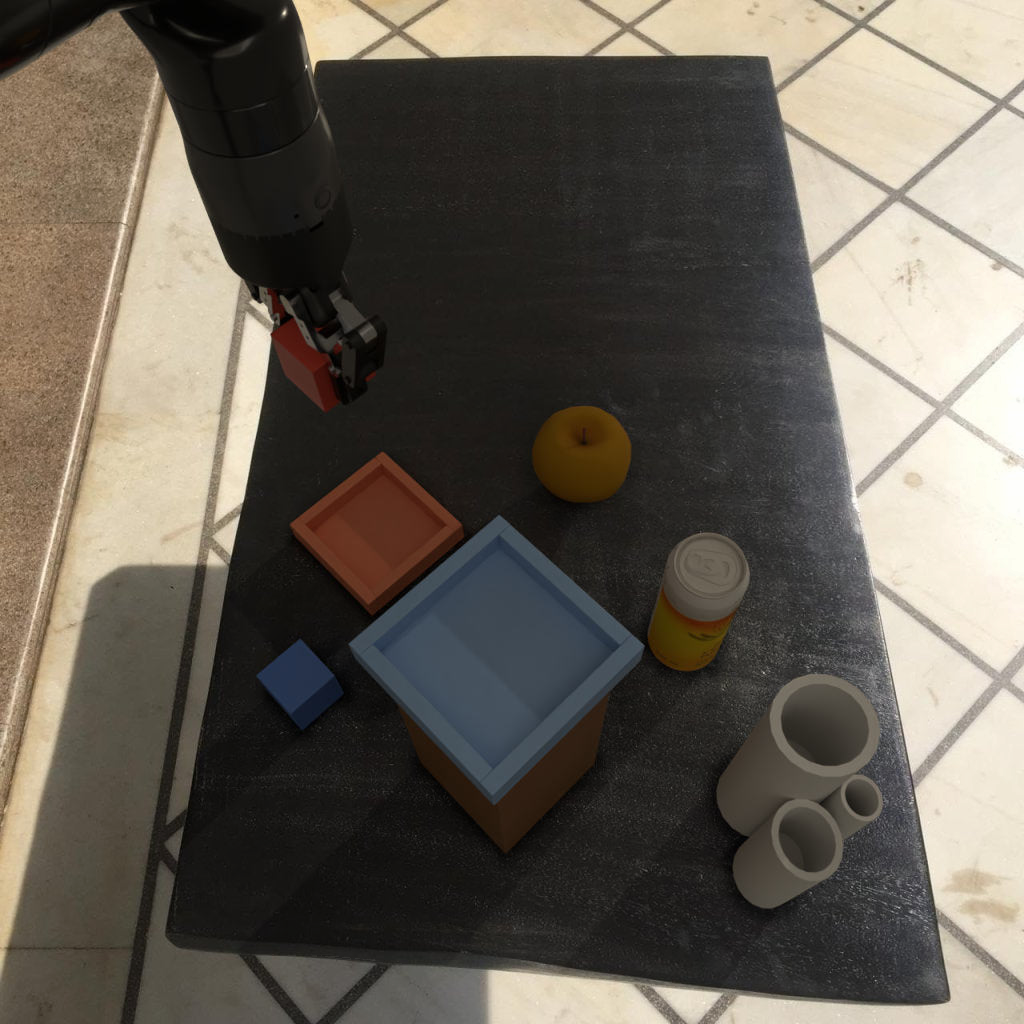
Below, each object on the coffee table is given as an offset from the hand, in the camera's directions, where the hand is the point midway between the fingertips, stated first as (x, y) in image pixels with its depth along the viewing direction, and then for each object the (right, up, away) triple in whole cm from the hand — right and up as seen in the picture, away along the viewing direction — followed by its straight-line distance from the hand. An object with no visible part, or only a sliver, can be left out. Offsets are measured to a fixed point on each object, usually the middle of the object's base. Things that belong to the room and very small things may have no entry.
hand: (329, 373), depth 67 cm
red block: (0, 0, 0) cm, 0 cm away
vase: (+33, -34, +9) cm, 48 cm away
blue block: (-5, -25, +15) cm, 29 cm away
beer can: (+27, -21, +16) cm, 38 cm away
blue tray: (+12, -30, +11) cm, 34 cm away
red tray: (+1, -12, +22) cm, 25 cm away
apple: (+19, -7, +24) cm, 32 cm away
